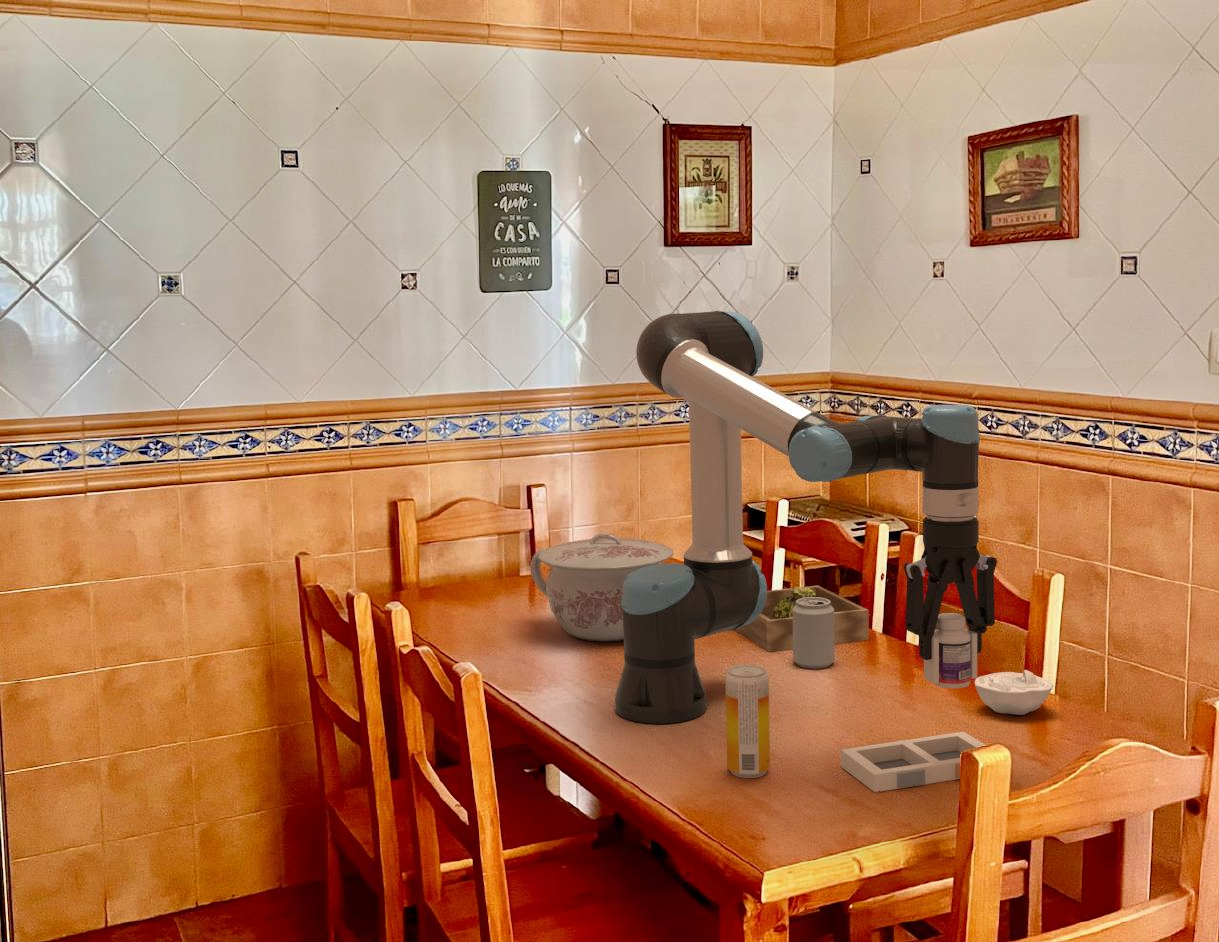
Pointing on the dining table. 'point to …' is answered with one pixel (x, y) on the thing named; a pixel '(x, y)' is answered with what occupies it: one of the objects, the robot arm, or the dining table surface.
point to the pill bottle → (953, 651)
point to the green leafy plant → (791, 602)
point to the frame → (779, 632)
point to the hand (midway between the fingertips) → (950, 677)
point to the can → (813, 633)
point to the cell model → (1013, 691)
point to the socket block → (908, 761)
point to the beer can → (747, 721)
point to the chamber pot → (593, 582)
